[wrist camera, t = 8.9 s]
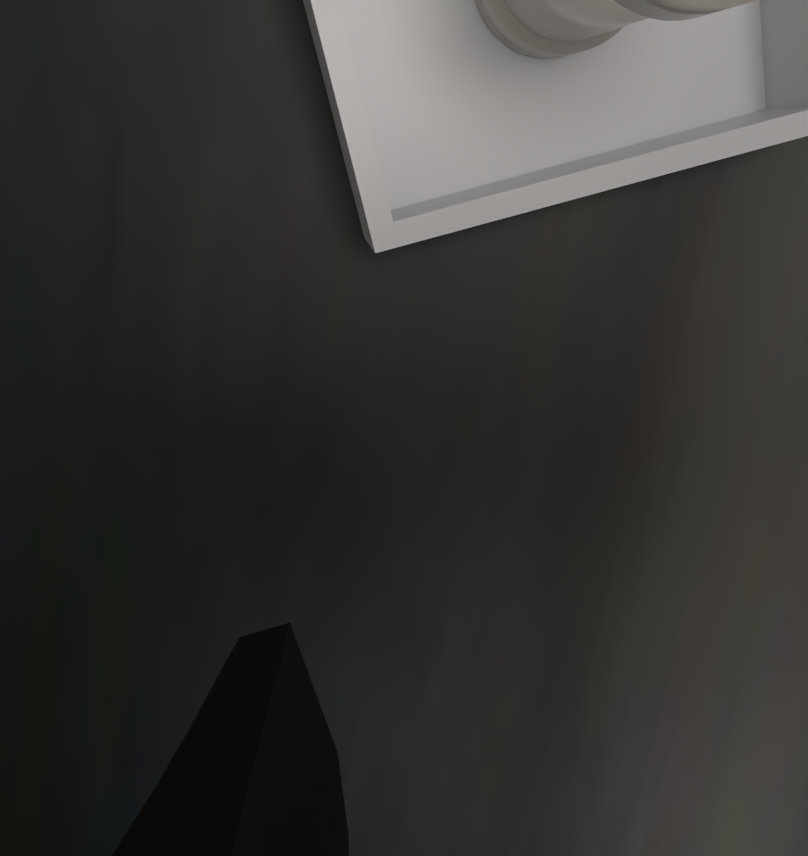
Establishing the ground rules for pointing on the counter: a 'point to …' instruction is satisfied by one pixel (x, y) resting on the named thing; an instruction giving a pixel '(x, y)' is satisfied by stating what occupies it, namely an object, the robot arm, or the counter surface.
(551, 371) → the counter surface
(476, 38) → the tray
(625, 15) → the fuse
